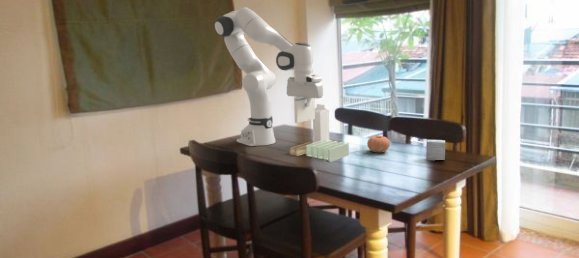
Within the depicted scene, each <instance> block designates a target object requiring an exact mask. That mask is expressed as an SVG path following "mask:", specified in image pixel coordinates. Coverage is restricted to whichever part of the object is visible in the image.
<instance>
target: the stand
mask: <svg viewBox="0 0 579 258" xmlns="http://www.w3.org/2000/svg"><path fill="white" fill-rule="evenodd" d="M312 143H313V141H308V142H307V141H306V142H304V143H302V144H299V145H295V146H292V147H289V155H291V156H295V157H296V156H297V157H298V156H301V155H304V154H305V155H306V145H309V144H312Z"/></svg>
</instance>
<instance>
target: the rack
mask: <svg viewBox="0 0 579 258" xmlns="http://www.w3.org/2000/svg"><path fill="white" fill-rule="evenodd" d="M349 144H350V143H349V142H346V143H344V142H343V141H340V142H338V140H335V141H333V140H332V139H329V141H327V139H325V140H321V141H318V142H315V143H313V142H312V144H309V145H306V153H305V156H306V157H312V158H316V159H320V160H327V161H326V162H327V163H332V162H335V161H337V160H340V159H342V158H345V157H347V156H349V155H350V154H349V153H350V151H349V150H350V149H349V148H350V145H349Z"/></svg>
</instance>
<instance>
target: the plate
mask: <svg viewBox="0 0 579 258" xmlns="http://www.w3.org/2000/svg"><path fill="white" fill-rule="evenodd" d="M293 97H294V96H293ZM315 99H316V98H311V101H310V103H309V107H305V103H306V102H307V100H306V97H303V96H299V97H294V98H293V100H294V105H293V107H294V123H295V124H299V123H303V122H306V121H307V122H308V121H311V120H312V121H313V119H315V108H316V106H315V105H316V102H315V101H316V100H315Z"/></svg>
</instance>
